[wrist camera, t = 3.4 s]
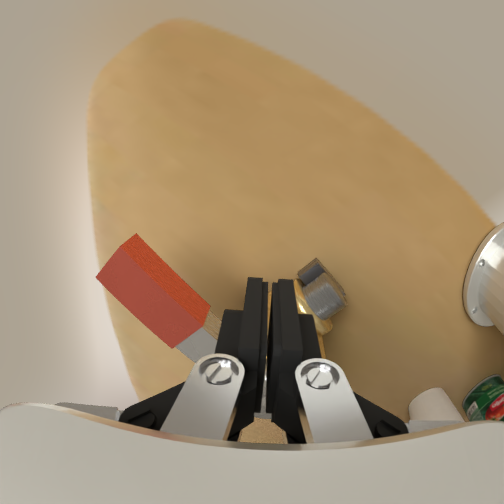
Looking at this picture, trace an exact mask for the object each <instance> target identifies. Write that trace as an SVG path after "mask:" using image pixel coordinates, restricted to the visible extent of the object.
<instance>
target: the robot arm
mask: <svg viewBox="0 0 504 504" xmlns="http://www.w3.org/2000/svg"><path fill="white" fill-rule="evenodd" d="M262 279H263V278H253V277H248V282H247V289H246V296H245V303H244V310H243V311H240V310H226V309H225V311H224V314H223V318H222V323H221V327H220V331H219V335H218V340H217V344H216V348H215V353H214V354H210V355H207V356H204V357H202V358H201V359H199V360H198V361H197V362H196V364H195V365H194V367H193V369H192V370H191V372H190V374H189V376H188V378H187V380H186V381H185V382H183V383H181V384H179V385H177V386H175V387H172V388H170V389H168V390H166V391H164V392H162V393H159V394H157V395H155V396H153V397H150V398H148V399H146V400H144V401H141V402H139V403H137V404H134V405H132V406H130V407H129V408H127V409H125V410H124V411H119V410H118V408H117V407H106V406H93V405H83V404H73V403H58V404H55V405H51V404H45V403H28V402H26V403H25V402H24V403H15V404H10V405H8V406H5V407H3V408H2V409H1V410H0V504H504V422H503V421H491V420H484V421H471V422H462V421H456V420H455V421H420V420H409V422H408V423H404V422H403V421H402V420H401V419H399V418H398V417H396V416H394V415H393V414H391V413H389V412H387V411H386V410H384V409H382V408H380V407H379V406H377V405H375V404H373V403H372V402H370V401H368V400H366V399H365V398H363V397H361V396H360V395H358V394H356V393H355V392H353V391H352V389H351V387H350V385H349V383H348V380H347V378H346V376H345V374H344V372H343V370H342V369H341V368H340V367H339V366H338V365H337V364H336V363H334V362H332V361H330V360H326V359H322V356H321V351H320V346H319V341H318V336H317V331H316V326H315V322H314V317H313V315H312V314H298V309H297V302H296V296H295V289H294V282H293V280H288V279H278V283H274V282H273V283H272V294H271V306H270V317H269V328H268V282H262ZM463 301H464V307H465V310H466V312H467V314H468V315H469V317H470V318H471V319H472V320H473V321H474V322H475V323H476V324H478V325H480V326H485V327H487V326H493V325H495V326H496V327H497V328H498V330H499V331H500V332H501V333H502V334H503V336H504V222H503V223H501V224H500V225H498V226H497V227H495V228H494V229H493V230H492V231H491V232H490V233H489V234H488V235H487V236H486V238H485V239H484V240H483V242H482V243H481V244H480V246H479V248H478V249H477V251H476V253H475V254H474V257H473V259H472V261H471V263H470V265H469V268H468V271H467V274H466V278H465V283H464V290H463ZM267 332H268V339H267ZM266 357H267V372H266V413H269V414H271V422H274V423H275V424H276V425H277V426H279V427H280V428H281V429H282V437H283V442H284V444H266V443H247V442H240V439H241V436H242V429H243V428H245V427H246V426H248V425H249V424H251V423H252V422H254V413H261V404H262V395H263V386H264V376H265V367H266Z"/></svg>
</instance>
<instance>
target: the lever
mask: <svg viewBox="0 0 504 504" xmlns="http://www.w3.org/2000/svg"><path fill="white" fill-rule="evenodd" d="M96 278H97V279H98V280H99V281H100V282H101V283H102V285H103V286H104V287H105V288H106V289H107V290H108V291H109V292H110V293H111V294H112V295H113V296H114V297H115V298H116V299H118V300H119V301H120V302H121V303H122V304H123V305H124V306H125V307H126V308H127V309H128V310H129V311H130V312H131V313H132V314H133V315H134V316H135V317H137V318H138V319H139V320H140V321H141V322H142V323H143V324H144V325H145V326H146V327H148V328H149V329H150V330H151V331H152V332H153V333H154V334H155V335H157V336H158V337H159V338H160V339H161V340H162V341H164V342H165V343H166V344H167V345H168V346H169V347H171V348H174V347H176V348H177V349H179V350H180V351H181V352H182V353H183V354H185V355H186V356H187V357H188V358H190V359H191V360H192V361H193V362H195V363H196V362H197V361H198V360H199V359H201V358H202V357H204V356H207V355H210V354H214V353H215V348H216V344H217V340H218V335H219V331H220V327H221V323H222V321H221V320H220V319H219V318H218V317H216V316H215V315H214V314H213V313H212V312H211V311H210V310H209V309H210V305H209V304H208V303H207V302H206V301H205V300H203V299H202V298H201V297H200V296H199V295H198V294H197V293H196V292H195V291H194V290H193V289H192V288H191V287H190V286H189V285H188V284H187V283H186V282H184V281H183V280H182V279H181V278H180V277H179V276H178V275H177V274H176V273H175V272H174V271H173V270H172V269H171V268H170V267H169V266H168V265H167V264H166V263H165V262H164V261H163V260H162V259H161V258H160V257H159V256H158V255H157V254H156V253H155V252H154V251H153V250H152V249H151V248H150V247H149V246H148V245H147V244H146V243H145V242H144V241H143V240H142V239H141V238H140V237H139V236H138V235H137V233H136V234H135V235H134V236H132V237H131V238H130V239H129V240H127V241H126V242H125V243H124V244H122V245H121V246H120V247H119V248H118V249H117V251H116V252H115V253H114V254H113V256H112V257H111V258H110V259H109V261H108V262H107V263H106V264H105V266H104V267H103V268H102V270H101V271H100V272H99V273H98V275H97V276H96ZM266 372H267V359H266V367H265V376H264V386H263V395H262V404H261V413H254V417H257V418H262V419H271V414H269V413H266Z"/></svg>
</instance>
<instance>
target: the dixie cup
mask: <svg viewBox="0 0 504 504" xmlns="http://www.w3.org/2000/svg"><path fill="white" fill-rule="evenodd" d="M408 410H409V415H410V420H420V421H455V420H456V421H462V422H465V421H464V420H463V418H462V417H461V415H460V413H459V412H458V410H457V409H456V407H455V406H454V405H453V403H452V402H451V400H450V398H449V397H448V395H447V394H446V393H445V391H444V390H443V389H442V388H431V389H429V390H426V391H424V392H422V393H421V394H419V395H418V396H417V397H415V398H414V399H413V400H412V402H411V403H410V405H409V407H408Z"/></svg>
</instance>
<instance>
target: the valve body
mask: <svg viewBox="0 0 504 504" xmlns="http://www.w3.org/2000/svg"><path fill="white" fill-rule="evenodd" d="M298 276H299V278H300V279H301V280H300V279H295V280H294V281H293V282H294V289H295V296H296V302H297V309H298V314H312V315H313V317H314V322H315V326H316V331H317V336H318V341H319V346H320V351H321V356H322V359H326V356H325V350H324V345H323V339H322V336H323V335H324V334H326V333H327V332H329V331H330V330H332V322H331V319H330V317H331V316H333V315H334V314H336V313H337V312H338V311H340V310H341V309H343V308H344V307H346V306H347V302H346V299H345V297H344V296H345V293H344V290H343V288H342V287H341V286H340V285H339V284H338V282H337V281H336V280H335V279H334V278H333V276H332V275H331V274H330V273H329V272H328V271H327V269H326V268H325V267H324V266H323V265H322V264H321V262H320V261H319V260H318V259H317V258H315V259H314V260H313V261H312V262H310V263H309V264H308V265H306V266H305V267H304V268H302V269H301V270H300V271H298ZM271 294H272V291H270V292H269V293H268V328H269V317H270V306H271ZM267 339H268V332H267ZM266 359H267V357H266Z"/></svg>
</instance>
